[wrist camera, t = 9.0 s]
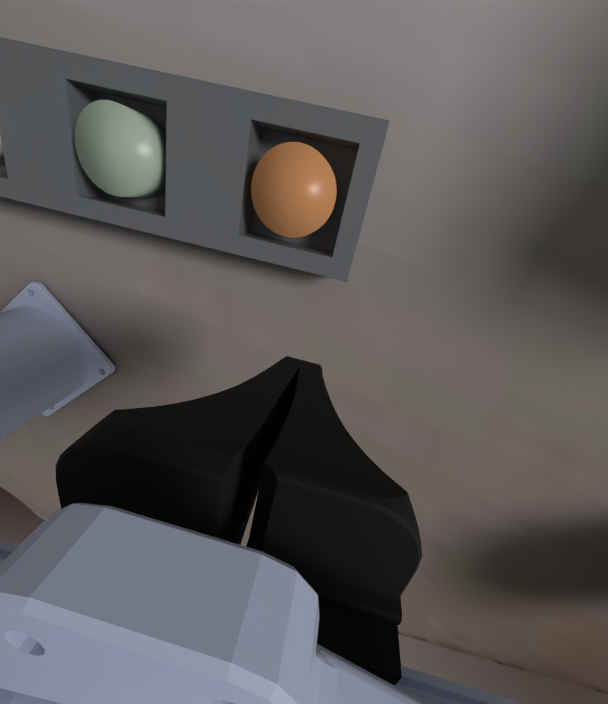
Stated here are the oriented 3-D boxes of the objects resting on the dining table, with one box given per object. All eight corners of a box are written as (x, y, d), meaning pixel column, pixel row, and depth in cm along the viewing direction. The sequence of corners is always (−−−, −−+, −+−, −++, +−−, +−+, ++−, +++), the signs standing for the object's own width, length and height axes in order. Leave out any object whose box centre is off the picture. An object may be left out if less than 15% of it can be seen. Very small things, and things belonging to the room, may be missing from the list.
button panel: (-36, 178, 20) (-86, 175, 18) (-70, 34, 17) (-135, 8, 15) (348, 272, 19) (346, 281, 17) (385, 132, 16) (389, 120, 14)
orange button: (257, 225, 18) (246, 227, 16) (269, 141, 16) (257, 132, 14) (327, 241, 18) (324, 246, 16) (347, 158, 16) (345, 152, 14)
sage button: (106, 189, 18) (79, 187, 16) (101, 103, 17) (70, 91, 15) (172, 204, 18) (152, 204, 16) (174, 120, 16) (151, 109, 15)
